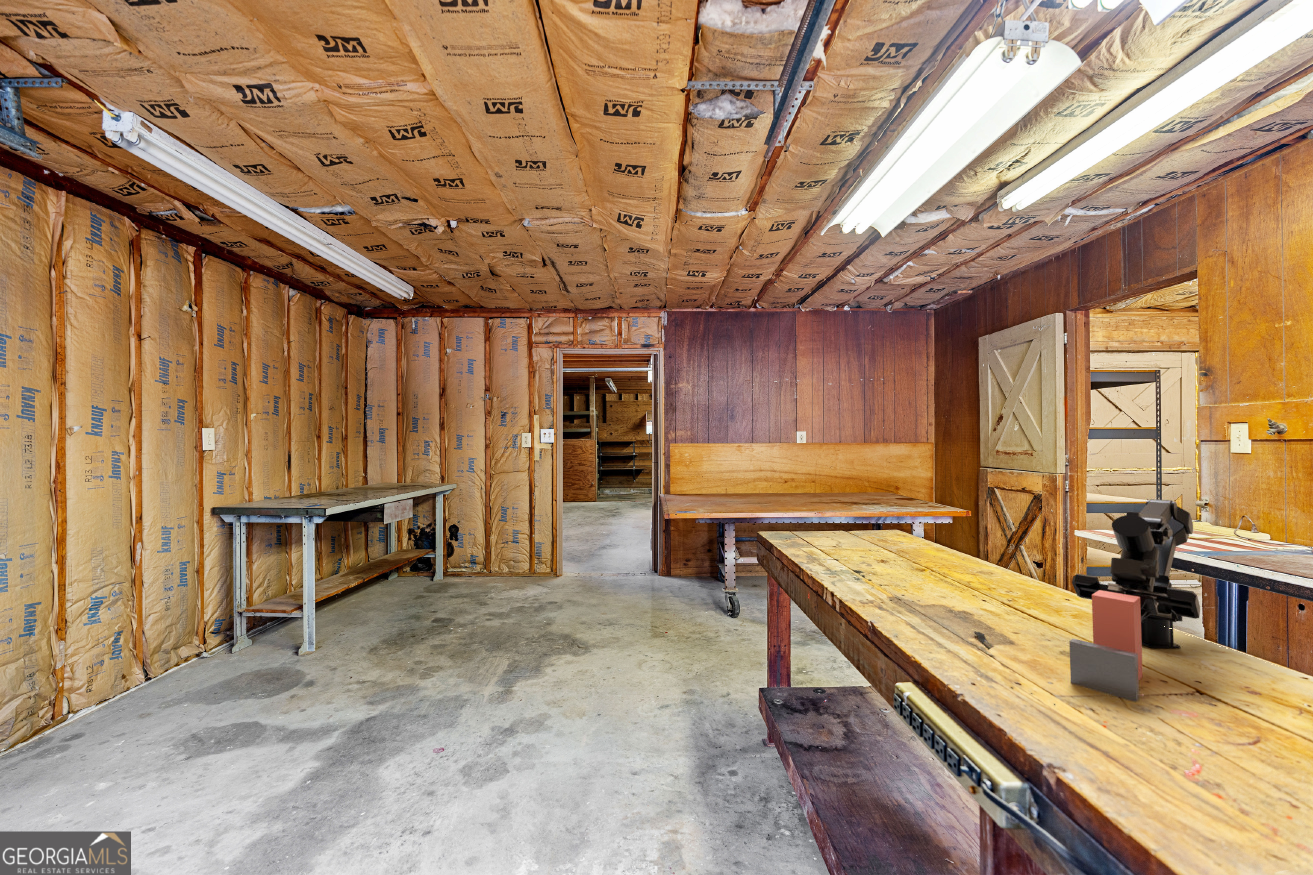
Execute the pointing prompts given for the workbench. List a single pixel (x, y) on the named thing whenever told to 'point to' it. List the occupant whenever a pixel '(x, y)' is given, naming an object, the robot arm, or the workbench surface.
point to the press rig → (1104, 669)
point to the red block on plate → (1118, 623)
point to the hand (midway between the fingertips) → (1125, 630)
